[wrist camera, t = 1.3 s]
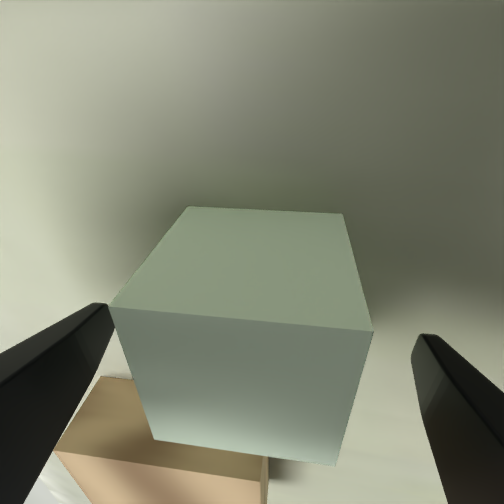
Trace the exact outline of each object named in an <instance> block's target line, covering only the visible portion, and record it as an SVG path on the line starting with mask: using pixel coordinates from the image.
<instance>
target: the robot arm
mask: <svg viewBox="0 0 504 504" xmlns="http://www.w3.org/2000/svg"><path fill="white" fill-rule="evenodd" d="M114 329H115V325H114V322H113V319H112V317H111V314H110V311H109V308H108V305H107V304H105V303H92V304H90V305H88V306H86V307H84V308H83V309H81V310H79V311H77V312H75V313H73V314H72V315H70V316H68V317H66V318H64V319H62V320H61V321H59V322H57V323H55V324H53V325H52V326H50V327H48V328H46V329H44V330H42V331H41V332H39V333H37V334H35V335H33V336H31V337H30V338H28V339H26V340H24V341H22V342H20V343H19V344H17V345H15V346H13V347H11V348H10V349H8V350H6V351H4V352H2V353H0V504H23V503H24V501H25V499H26V498H27V496H28V494H29V492H30V491H31V489H32V487H33V485H34V483H35V482H36V480H37V478H38V476H39V475H40V473H41V471H42V469H43V467H44V466H45V464H46V462H47V460H48V458H49V457H50V455H51V453H52V451H53V449H54V448H55V446H56V444H57V442H58V440H59V439H60V437H61V435H62V433H63V431H64V430H65V428H66V426H67V424H68V422H69V421H70V419H71V417H72V415H73V413H74V412H75V410H76V408H77V406H78V404H79V403H80V401H81V399H82V397H83V395H84V394H85V392H86V390H87V388H88V387H89V385H90V383H91V381H92V379H93V377H94V375H95V373H96V371H97V369H98V366H99V364H100V362H101V359H102V357H103V355H104V353H105V350H106V348H107V346H108V343H109V341H110V339H111V336H112V334H113V332H114ZM411 364H412V369H413V374H414V380H415V385H416V390H417V395H418V401H419V406H420V411H421V415H422V420H423V423H424V427H425V430H426V433H427V437H428V440H429V443H430V446H431V450H432V453H433V456H434V459H435V463H436V466H437V469H438V472H439V476H440V479H441V482H442V485H443V489H444V492H445V495H446V498H447V502H448V504H504V393H503V392H502V391H501V390H500V389H499V388H498V387H497V386H495V385H494V384H493V383H492V382H491V381H490V380H489V379H487V378H486V377H485V376H484V375H483V374H482V373H481V372H479V371H478V370H477V369H476V368H475V367H474V366H473V365H471V364H470V363H469V362H468V361H467V360H466V359H465V358H463V357H462V356H461V355H460V354H459V353H458V352H457V351H455V350H454V349H453V348H452V347H451V346H450V345H449V344H447V343H446V342H445V341H444V340H443V339H442V338H441V337H439V336H438V335H434V334H424V333H423V334H420V335H419V336H418V338H417V341H416V343H415V346H414V348H413V351H412V354H411Z"/></svg>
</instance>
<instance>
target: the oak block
mask: <svg viewBox="0 0 504 504" xmlns="http://www.w3.org/2000/svg"><path fill="white" fill-rule="evenodd" d="M53 451H54V452H55V454H56V455H57V457H58V458H59V459H60V461H61V462H62V463H63V465H64V466H65V467H66V469H67V470H68V472H69V473H70V474H71V476H72V477H73V478H74V480H75V481H76V482H77V484H78V485H79V487H80V488H81V489H82V491H83V492H84V493H85V495H86V496H87V497H88V499H89V500H90V502H91V503H92V504H267V494H268V482H269V457H268V456H261V455H254V454H248V453H241V452H234V451H228V450H221V449H214V448H207V447H201V446H194V445H187V444H181V443H174V442H167V441H161V440H154V438H153V435H152V432H151V429H150V426H149V423H148V420H147V417H146V415H145V412H144V409H143V406H142V403H141V400H140V397H139V394H138V391H137V389H136V386H135V383H134V380H128V379H120V378H111V377H102V376H101V377H100V378H99V380H98V381H97V383H96V384H95V386H94V388H93V389H92V391H91V392H90V394H89V395H88V397H87V398H86V400H85V401H84V403H83V405H82V406H81V408H80V409H79V411H78V412H77V414H76V415H75V417H74V418H73V420H72V422H71V423H70V425H69V426H68V428H67V429H66V431H65V432H64V434H63V436H62V437H61V439H60V440H59V442H58V443H57V445H56V446H55V448H54V449H53Z"/></svg>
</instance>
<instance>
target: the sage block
mask: <svg viewBox="0 0 504 504" xmlns="http://www.w3.org/2000/svg"><path fill="white" fill-rule="evenodd" d="M108 308H109V311H110V314H111V317H112V319H113V322H114V325H115V328H116V331H117V334H118V337H119V340H120V342H121V345H122V348H123V351H124V354H125V357H126V360H127V363H128V366H129V368H130V371H131V374H132V377H133V380H134V383H135V386H136V389H137V391H138V394H139V397H140V400H141V403H142V406H143V409H144V412H145V415H146V417H147V420H148V423H149V426H150V429H151V432H152V435H153V438H154V440H161V441H167V442H174V443H181V444H187V445H194V446H201V447H207V448H214V449H221V450H228V451H234V452H241V453H248V454H254V455H261V456H268V457H274V458H281V459H288V460H294V461H301V462H308V463H314V464H321V465H328V466H335V465H336V462H337V458H338V455H339V451H340V448H341V444H342V441H343V437H344V434H345V430H346V427H347V423H348V420H349V416H350V413H351V409H352V406H353V402H354V399H355V395H356V392H357V388H358V385H359V382H360V378H361V375H362V371H363V368H364V364H365V361H366V357H367V354H368V350H369V347H370V343H371V340H372V336H373V333H374V330H373V327H372V323H371V319H370V315H369V311H368V308H367V304H366V300H365V296H364V293H363V289H362V285H361V281H360V278H359V274H358V270H357V266H356V263H355V259H354V255H353V251H352V248H351V244H350V240H349V236H348V233H347V229H346V225H345V221H344V217H343V214H337V213H317V212H297V211H277V210H256V209H236V208H216V207H196V206H188V207H187V208H186V209H185V210H184V212H183V213H182V214H181V215H180V217H179V218H178V219H177V220H176V222H175V223H174V224H173V225H172V227H171V228H170V229H169V230H168V232H167V233H166V234H165V236H164V237H163V238H162V239H161V241H160V242H159V243H158V244H157V246H156V247H155V248H154V249H153V251H152V252H151V253H150V254H149V256H148V257H147V258H146V259H145V261H144V262H143V263H142V264H141V266H140V267H139V268H138V269H137V271H136V272H135V273H134V274H133V276H132V277H131V278H130V279H129V281H128V282H127V283H126V284H125V286H124V287H123V288H122V289H121V291H120V292H119V293H118V295H117V296H116V297H115V298H114V300H113V301H112V302H111V303H110V305H109V306H108Z"/></svg>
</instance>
